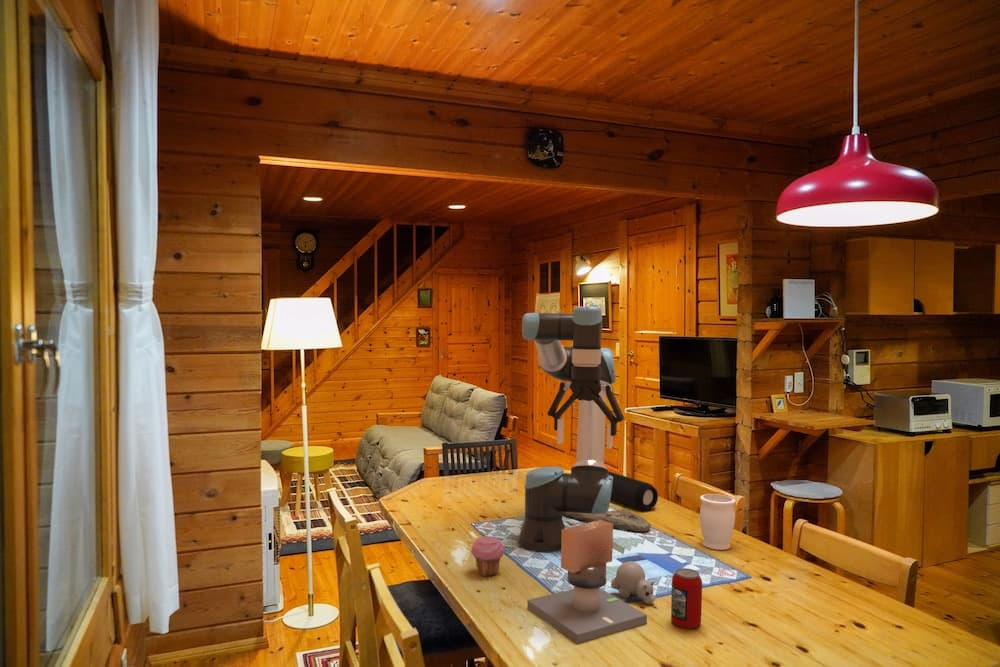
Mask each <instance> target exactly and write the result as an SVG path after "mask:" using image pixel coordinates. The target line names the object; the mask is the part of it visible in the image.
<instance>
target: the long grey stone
mask: <svg viewBox="0 0 1000 667" xmlns="http://www.w3.org/2000/svg"><path fill="white" fill-rule="evenodd" d="M562 516H564V517H565V516H566V517H568V518H572V519H575V520H577V521H583V522H586V523H590V522H594V521H598V520H603V521H606V522H609V523H612V524H613V529H618V530H622V529H624V530H623V531H626V530H630V531H632V532H647V531H649V530H650V529H651V527H652V526H651V523H650V522H649V521H648V520H647V519H645V518H644V517H643V516H641V515H639V514H636V513H634V512H633V511H630V509H629V508H624V509H623V508H622V509H616V510H608V511H607V512H606V513H605V514H593V515H592V514H587V513H572V512H562Z"/></svg>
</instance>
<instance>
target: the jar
mask: <svg viewBox="0 0 1000 667" xmlns="http://www.w3.org/2000/svg"><path fill="white" fill-rule="evenodd" d="M700 501H701V504H700V510H699V523H700V531H701V534H702V537H703V541H702V546H704V547H705V548H708V549H710V550H714V549H715V551H725V550H729V549H731V544H730V541H731V539H732V537H733V533H734V527H735V521H736V517H735V516H736V514H735V508H734V505H736V499H735V498H733V497H731V496H728V495H724V494H718V493H708V494H703V495H700Z"/></svg>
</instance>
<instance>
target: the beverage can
mask: <svg viewBox="0 0 1000 667" xmlns="http://www.w3.org/2000/svg"><path fill="white" fill-rule="evenodd" d="M702 601H703V580H702V578H701V576H700V573H699V571H697V570H695V569H693V568H686V567H685V568H684V567H682V568H677V569H676V570H675V573H674V574H673V575H672V577H671V602H670V603H671V605H670V608H671V610H670V611H671V612H670V619H671V621H672V622H673V623H674V624H675V625H676V626H678V627H680V628H683V629H695V628H697V627H698V626H700V625H701V623H702V605H703V602H702Z"/></svg>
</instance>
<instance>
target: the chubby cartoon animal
mask: <svg viewBox="0 0 1000 667" xmlns="http://www.w3.org/2000/svg"><path fill="white" fill-rule="evenodd" d="M615 575H616V576H614V578H613V579H612V580H611V584H610V585H611V588H612V589H614V590H616V591H617V590H619V595H620V597H621V598H623V599H629V598H630V597H631V596H630V595H633V596H636V595H637V596H638V597H640V598H642V599H643V602H644V603H645V604H646V605H652V604H653V603H654V602H655V601H656V595H655V594H654V587H653V586H654V584H655V581H651V582H650V581H647V580H646V574H645V571H644V568H643V567H642V566H641V565H640V564H639V563H638V562H635V561H631V560H630V561H629V560H628V561H624V562H622V563H621V564H620V565H619V567H617V570H616V573H615Z"/></svg>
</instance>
